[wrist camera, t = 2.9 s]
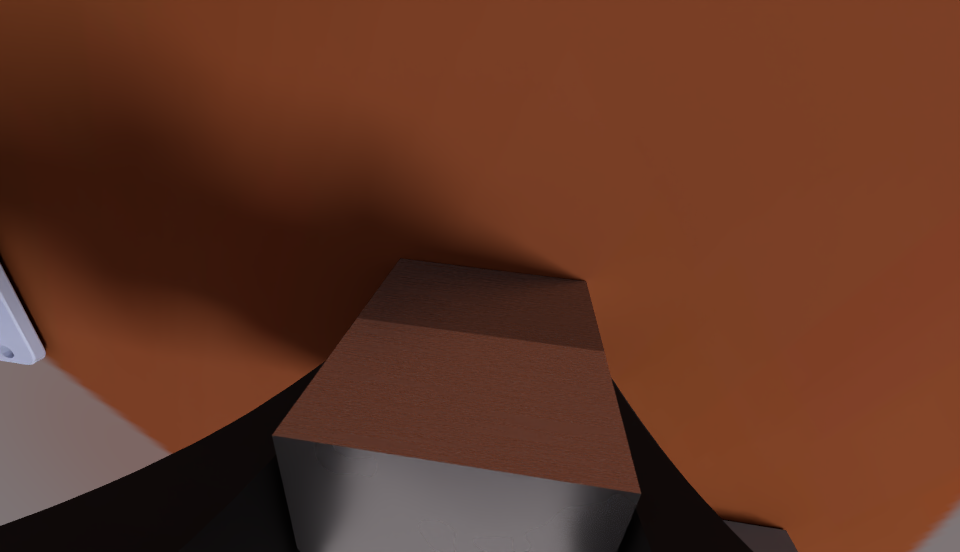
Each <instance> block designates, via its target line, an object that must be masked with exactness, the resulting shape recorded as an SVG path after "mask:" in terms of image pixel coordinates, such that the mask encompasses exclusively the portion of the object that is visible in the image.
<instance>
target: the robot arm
mask: <svg viewBox="0 0 960 552" xmlns="http://www.w3.org/2000/svg"><path fill="white" fill-rule="evenodd" d="M45 355H46V351H45V348H44V346H43V344H42V342H41V341H40V339H39V337H38V335H37V333H36V331H35V329H34V327H33V325H32V323H31V321H30V319H29V317H28V315H27V314H26V312H25V310H24V308H23V306H22V304H21V302H20V300H19V298H18V296H17V294H16V292H15V290H14V288H13V287H12V285H11V283H10V281H9V279H8V277H7V275H6V273H5V271H4V269H3V267H2V265H1V263H0V361H6V362H13V363H19V364H26V365H32V364H34V363H36V362H38V361H39V360H41V359H43V358H44V357H45ZM325 362H326V361H325ZM325 362H323V363H322V364H321V365H319V366H318V367H317V368H315V369H314V370H312V371H311V372H310V373H308V374H307V375H305V376H304V377H303V378H301V379H300V380H298V381H297V382H295V383H294V384H293V385H291V386H290V387H288V388H287V389H285V390H283V391H282V392H280V393H279V394H277V395H276V396H274V397H273V398H271V399H270V400H268V401H267V402H265V403H264V404H262V405H260V406H259V407H257V408H256V409H254V410H253V411H251V412H249V413H248V414H246V415H244V416H243V417H241V418H239V419H238V420H236V421H234V422H232V423H231V424H229V425H227V426H225V427H223V428H222V429H220V430H218V431H216V432H214V433H213V434H211V435H209V436H207V437H205V438H203V439H201V440H200V441H198V442H196V443H194V444H192V445H190V446H188V447H186V448H184V449H181V450H179V451H177V452H175V453H173V454H171V455H169V456H167V457H165V458H163V459H161V460H159V461H157V462H155V463H153V464H151V465H149V466H147V467H145V468H142V469H140V470H138V471H136V472H134V473H131V474H129V475H127V476H125V477H122V478H120V479H118V480H115V481H113V482H111V483H109V484H106V485H104V486H102V487H99V488H97V489H94V490H92V491H90V492H87V493H85V494H82V495H80V496H78V497H75V498H73V499H70V500H68V501H65V502H63V503H60V504H58V505H55V506H53V507H50V508H48V509H45V510H42V511H40V512H37V513H34V514H32V515H29V516H26V517H24V518H21V519H18V520H15V521H13V522H10V523H7V524H5V525H2V526H0V552H298V549H297V545H296V541H295V536H294V532H293V527H292V523H291V518H290V514H289V509H288V505H287V500H286V496H285V491H284V487H283V482H282V478H281V473H280V469H279V464H278V460H277V455H276V451H275V447H274V442H273V438H272V435H273V433H274V432H275V430H276V429H277V428H278V426H279V425H280V424H281V422H282V421H283V419H284V418H285V417H286V415H287V414H288V412H289V411H290V410H291V408H292V407H293V406H294V404H295V403H296V401H297V400H298V399H299V397H300V396H301V395H302V393H303V392H304V390H305V389H306V388H307V386H308V385H309V384H310V382H311V381H312V379H313V378H314V377H315V375H316V374H317V373H318V371H319V370H320V368H321V367H322V366H323V364H324V363H325ZM611 379H612V378H611ZM612 383H613V387H614V391H615V395H616V398H617V402H618V406H619V410H620V414H621V418H622V422H623V425H624V429H625V433H626V437H627V441H628V445H629V449H630V452H631V456H632V460H633V464H634V468H635V472H636V476H637V480H638V483H639V487H640V491H641V496H640V498H639V500H638V503H637V505H636V508H635V510H634V513H633V515H632V517H631V520H630V522H629V525H628V527H627V530H626V532H625V534H624V537H623V539H622V542H621V544H620V547H619V549H618V551H617V552H753V551H752V550H751V549H750V548H749V547H748V546H747V545H746V544H745V543H744V542H743V541H742V540H741V539H740V538H739V537H738V536H737V535H736V534H735V533H734V532H733V531H732V530H731V529H730V528H729V526H728V525H727V524H726V523H725V522H724V521H723V520H722V519H721V518H720V517H719V516H718V515H717V514H716V512H715V511H714V510H713V509H712V508H711V507H710V506H709V505H708V504H707V503H706V502H705V501H704V500H703V498H702V497H701V496H700V495H699V494H698V493H697V492H696V491H695V489H694V488H693V487H692V486H691V485H690V484H689V483H688V481H687V480H686V479H685V478H684V476H683V475H682V474H681V473H680V472H679V470H678V469H677V468H676V467H675V465H674V464H673V463H672V462H671V461H670V459H669V458H668V457H667V455H666V454H665V453H664V452H663V450H662V449H661V448H660V446H659V445H658V444H657V442H656V441H655V440H654V438H653V437H652V436H651V434H650V433H649V432H648V430H647V429H646V427H645V426H644V425H643V423H642V422H641V421H640V419H639V418H638V416H637V415H636V414H635V412H634V411H633V409H632V408H631V406H630V405H629V403H628V402H627V400H626V399H625V397H624V396H623V394H622V393H621V391H620V390H619V388H618V387H617V385H616V384H615V382H614V381H613V379H612Z"/></svg>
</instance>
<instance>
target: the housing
mask: <svg viewBox="0 0 960 552" xmlns="http://www.w3.org/2000/svg"><path fill="white" fill-rule="evenodd" d="M272 438H273V442H274V447H275V451H276V455H277V460H278V464H279V469H280V473H281V478H282V482H283V487H284V491H285V496H286V500H287V505H288V509H289V514H290V518H291V523H292V527H293V532H294V536H295V541H296V545H297V549H298V552H617V551H618V549H619V547H620V544H621V542H622V539H623V537H624V534H625V532H626V530H627V527H628V525H629V522H630V520H631V517H632V515H633V513H634V510H635V508H636V505H637V503H638V500H639V498H640V496H641V491H640V487H639V483H638V480H637V476H636V472H635V468H634V464H633V460H632V456H631V452H630V449H629V445H628V441H627V437H626V433H625V429H624V425H623V422H622V418H621V414H620V410H619V406H618V402H617V398H616V395H615V391H614V387H613V383H612V379H611V375H610V371H609V368H608V364H607V360H606V356H605V352H604V348H603V344H602V341H601V337H600V333H599V329H598V325H597V321H596V317H595V314H594V310H593V306H592V302H591V298H590V294H589V290H588V287H587V283H586V281H578V280H570V279H562V278H554V277H546V276H538V275H530V274H522V273H514V272H506V271H498V270H489V269H481V268H473V267H465V266H457V265H449V264H441V263H433V262H425V261H417V260H409V259H401V258H400V260H399V261H398V262H397V264H396V265H395V266H394V268H393V269H392V271H391V272H390V273H389V275H388V276H387V277H386V279H385V280H384V282H383V283H382V284H381V286H380V287H379V288H378V290H377V291H376V293H375V294H374V295H373V297H372V298H371V299H370V301H369V302H368V304H367V305H366V306H365V308H364V309H363V311H362V312H361V313H360V315H359V316H358V317H357V319H356V320H355V322H354V323H353V324H352V326H351V327H350V328H349V330H348V331H347V333H346V334H345V335H344V337H343V338H342V339H341V341H340V342H339V344H338V345H337V346H336V348H335V349H334V350H333V352H332V353H331V355H330V356H329V357H328V359H327V360H326V362H325V363H324V364H323V366H322V367H321V368H320V370H319V371H318V373H317V374H316V375H315V377H314V378H313V379H312V381H311V382H310V384H309V385H308V386H307V388H306V389H305V390H304V392H303V393H302V395H301V396H300V397H299V399H298V400H297V401H296V403H295V404H294V406H293V407H292V408H291V410H290V411H289V412H288V414H287V415H286V417H285V418H284V419H283V421H282V422H281V424H280V425H279V426H278V428H277V429H276V430H275V432H274V433H273V435H272Z"/></svg>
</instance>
